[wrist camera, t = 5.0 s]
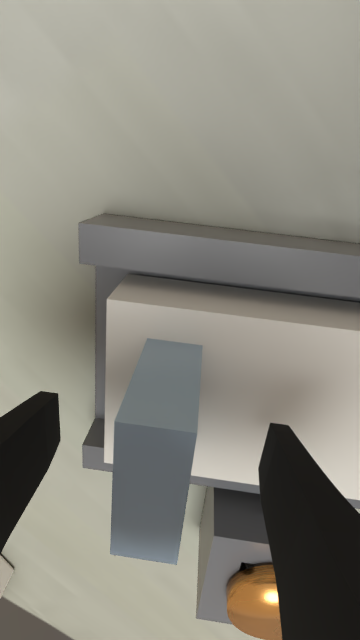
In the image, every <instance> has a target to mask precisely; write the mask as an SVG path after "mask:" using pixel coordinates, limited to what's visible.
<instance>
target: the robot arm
mask: <svg viewBox="0 0 360 640" xmlns="http://www.w3.org/2000/svg"><path fill="white" fill-rule="evenodd" d="M59 442H60V421H59V401H58V393H50V392H43V391H40V392H39V393H37V394H35V395H34V396H32V397H31V398H29V399H28V400H26V401H25V402H23V403H22V404H20V405H19V406H17V407H16V408H14V409H13V410H11V411H10V412H8V413H6V414H5V415H3V416H2V417H0V554H1V552H2V550H3V548H4V546H5V544H6V542H7V540H8V538H9V536H10V534H11V532H12V531H13V529H14V527H15V526H16V524H17V522H18V520H19V519H20V517H21V515H22V514H23V512H24V510H25V508H26V507H27V505H28V503H29V501H30V500H31V498H32V496H33V495H34V493H35V491H36V489H37V488H38V486H39V484H40V482H41V481H42V479H43V477H44V475H45V474H46V472H47V470H48V468H49V466H50V464H51V461H52V459H53V457H54V455H55V452H56V450H57V447H58V445H59ZM258 473H259V488H260V499H261V505H262V510H263V516H264V521H265V526H266V531H267V537H268V542H269V547H270V552H271V557H272V562H273V568H274V573H275V579H276V586H277V593H278V602H279V612H280V622H281V631H282V640H360V514H359V513H358V512H357V511H356V510H355V508H354V507H353V506H352V505H351V504H350V503H349V502H348V501H347V499H346V498H345V497H344V496H343V495H342V494H341V493H340V491H339V490H338V489H337V488H336V487H335V486H334V484H333V483H332V482H331V481H330V479H329V478H328V477H327V476H326V474H325V473H324V472H323V471H322V469H321V468H320V467H319V466H318V464H317V463H316V462H315V460H314V459H313V458H312V456H311V455H310V454H309V452H308V451H307V450H306V448H305V447H304V445H303V444H302V443H301V441H300V440H299V439H298V437H297V436H296V435H295V433H294V432H293V430H292V429H291V428H290V426H289V425H284V424H277V423H270V425H269V429H268V432H267V436H266V440H265V444H264V448H263V452H262V455H261V459H260V463H259V467H258Z"/></svg>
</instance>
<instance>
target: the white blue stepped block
mask: <svg viewBox="0 0 360 640" xmlns="http://www.w3.org/2000/svg"><path fill="white" fill-rule="evenodd" d="M270 423H277V424H284V425H289V426H290V428H291V429H292V430H293V432H294V433H295V435H296V436H297V437H298V439H299V440H300V441H301V443H302V444H303V445H304V447H305V448H306V450H307V451H308V452H309V454H310V455H311V456H312V458H313V459H314V460H315V462H316V463H317V464H318V466H319V467H320V468H321V469H322V471H323V472H324V473H325V474H326V476H327V477H328V478H329V479H330V481H331V482H332V483H333V484H334V486H335V487H336V488H337V489H338V490H339V491H340V493H341V494H342V495H343V496H344V497H345V498H348V499H355V500H360V303H358V302H350V301H342V300H334V299H326V298H318V297H310V296H302V295H294V294H286V293H278V292H269V291H261V290H253V289H245V288H237V287H229V286H221V285H213V284H205V283H197V282H189V281H181V280H173V279H165V278H157V277H149V276H141V275H133V274H127V275H126V277H125V278H124V279H123V280H122V281H121V283H120V284H119V285H118V286H117V287H116V289H115V290H114V291H113V292H112V293H111V295H110V296H109V297H108V298H107V312H106V373H105V434H104V463H110V464H113V481H112V513H111V546H110V554H112V555H118V556H124V557H131V558H137V559H143V560H150V561H156V562H162V563H169V564H175V565H177V560H178V554H179V547H180V541H181V534H182V528H183V522H184V515H185V509H186V502H187V496H188V490H189V483H190V477H191V475H192V476H199V477H205V478H212V479H219V480H226V481H233V482H239V483H246V484H253V485H259V473H258V467H259V463H260V459H261V455H262V452H263V448H264V444H265V440H266V436H267V432H268V429H269V425H270Z"/></svg>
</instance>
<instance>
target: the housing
mask: <svg viewBox="0 0 360 640" xmlns="http://www.w3.org/2000/svg"><path fill="white" fill-rule="evenodd" d="M79 263H80V264H88V265H96V347H95V420H94V422H93V424H92V426H91V428H90V430H89V432H88V434H87V436H86V438H85V440H84V443H83V445H82V452H83V468H88V469H95V470H101V471H108V472H113V464H110V463H104V434H105V373H106V312H107V298H108V297H109V296H110V295H111V293H112V292H113V291H114V290H115V289H116V287H117V286H118V285H119V284H120V283H121V281H122V280H123V279H124V278H125V277H126V275H127V274H133V275H141V276H149V277H157V278H165V279H173V280H181V281H189V282H197V283H205V284H213V285H221V286H229V287H237V288H245V289H253V290H261V291H269V292H278V293H286V294H294V295H302V296H310V297H318V298H326V299H334V300H342V301H350V302H358V303H360V244H357V243H349V242H340V241H332V240H323V239H315V238H306V237H298V236H289V235H281V234H272V233H264V232H255V231H247V230H238V229H230V228H221V227H212V226H204V225H195V224H187V223H178V222H170V221H161V220H153V219H144V218H136V217H127V216H119V215H110V214H101V215H98V216H95V217H93V218H90V219H88V220H85V221H82V222H80V223H79ZM189 484H196V485H203V486H207V491H206V496H205V502H204V507H203V513H202V518H201V523H200V530H199V556H198V583H197V609H196V619H202V620H209V621H215V622H221V623H227V624H232V622H231V621H230V619H229V617H228V614H227V596H226V589H227V585H228V583H229V581H230V580H231V579H232V578H233V577H234V576H235V575H236V574H238V573H239V569H240V565H241V562H244V563H250V564H257V565H273V562H272V557H271V552H270V547H269V542H268V537H267V531H266V526H265V521H264V516H263V510H262V505H261V499H260V488H259V485H253V484H246V483H239V482H233V481H226V480H219V479H212V478H205V477H199V476H192V475H191V477H190V483H189ZM346 499H347V501H348V502H349V503H350V504H351V505H352V506H353V507H354V508H358V509H360V500H355V499H348V498H346Z"/></svg>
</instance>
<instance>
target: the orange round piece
mask: <svg viewBox="0 0 360 640" xmlns="http://www.w3.org/2000/svg"><path fill="white" fill-rule="evenodd" d="M226 596H227V614H228V617H229V619H230V621H231V622H232V624H233V625H234V626H235V627H237V628H238V629H239V630H241V631H242V632H244V633H246V634H248V635H251V636H253V637H257V638H260V639H265V640H282V631H281V622H280V612H279V602H278V593H277V586H276V579H275V573H274V568H273V565H257V564H250V563H244V562H241V565H240V569H239V573H238V574H236V575H235V576H234V577H233V578H232V579H231V580H230V581H229V583H228V585H227V589H226Z"/></svg>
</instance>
